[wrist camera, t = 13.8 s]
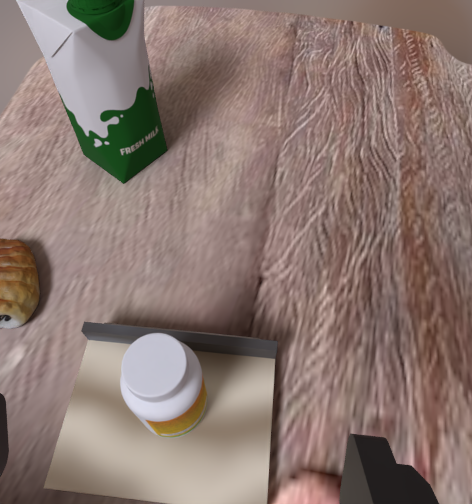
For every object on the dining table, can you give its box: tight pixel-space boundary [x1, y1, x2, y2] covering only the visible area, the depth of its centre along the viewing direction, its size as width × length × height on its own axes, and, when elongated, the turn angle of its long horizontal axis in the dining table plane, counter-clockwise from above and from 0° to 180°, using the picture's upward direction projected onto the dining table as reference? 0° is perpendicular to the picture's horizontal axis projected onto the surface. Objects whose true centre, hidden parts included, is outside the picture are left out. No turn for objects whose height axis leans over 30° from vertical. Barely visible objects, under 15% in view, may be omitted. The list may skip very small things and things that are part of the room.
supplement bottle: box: [120, 333, 207, 438], centre depth 30 cm, size 5×5×10 cm
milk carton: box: [16, 0, 167, 184], centre depth 43 cm, size 9×9×20 cm
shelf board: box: [43, 322, 278, 504], centre depth 33 cm, size 12×16×4 cm
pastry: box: [0, 239, 40, 328], centre depth 40 cm, size 9×7×4 cm
